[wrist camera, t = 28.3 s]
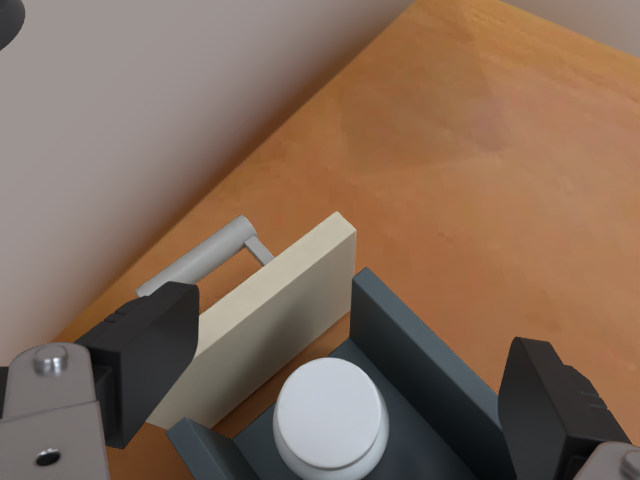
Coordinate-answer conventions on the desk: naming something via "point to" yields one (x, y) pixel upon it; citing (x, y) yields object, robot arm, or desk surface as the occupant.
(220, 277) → the desk surface
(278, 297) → the drawer
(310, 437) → the pill bottle
